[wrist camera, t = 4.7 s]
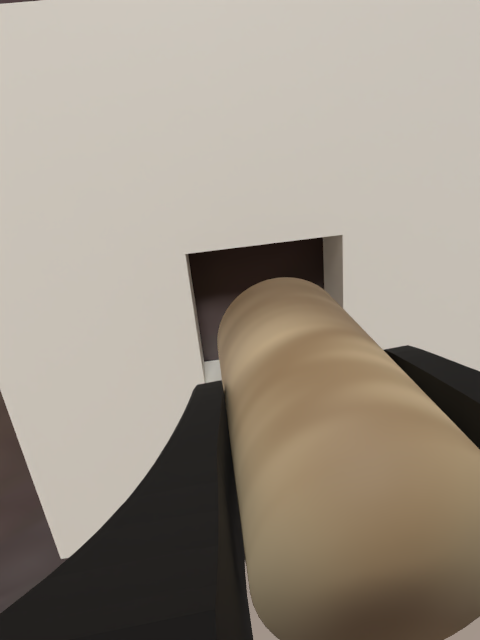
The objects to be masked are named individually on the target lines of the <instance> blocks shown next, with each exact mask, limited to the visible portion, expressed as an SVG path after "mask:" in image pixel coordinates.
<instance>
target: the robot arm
mask: <svg viewBox="0 0 480 640" xmlns="http://www.w3.org/2000/svg"><path fill="white" fill-rule="evenodd" d="M384 351H385V352H386V353H387V354H388V355H389V356H390V357H391V359H392V360H393V361H394V362H395V363H396V364H397V365H398V366H399V367H400V368H401V369H402V370H403V371H404V372H405V373H406V374H407V375H408V376H409V377H410V378H411V379H412V380H413V381H414V382H415V383H416V384H417V385H418V386H419V387H420V388H421V390H422V391H423V392H424V393H425V394H426V395H427V396H428V397H429V398H430V399H431V400H432V401H433V402H434V403H435V404H436V405H437V406H438V407H439V408H440V409H441V410H442V411H443V412H444V413H445V414H446V415H447V416H448V417H449V418H450V419H451V420H452V422H453V423H454V424H455V425H456V426H457V427H458V428H459V429H460V430H461V431H462V432H463V433H464V434H465V435H466V436H467V437H468V438H469V439H470V440H471V441H472V442H473V443H474V444H475V445H476V446H477V447H478V448H479V449H480V371H478V370H475V369H472V368H470V367H467V366H464V365H462V364H459V363H457V362H454V361H451V360H449V359H446V358H444V357H441V356H438V355H436V354H433V353H430V352H428V351H425V350H422V349H419V348H416V347H413V346H409V345H406V346H400V347H395V348H390V349H384ZM0 640H253V635H252V628H251V621H250V614H249V606H248V599H247V590H246V579H245V563H244V543H243V535H242V528H241V520H240V513H239V505H238V498H237V490H236V482H235V475H234V467H233V460H232V452H231V445H230V437H229V428H228V418H227V410H226V403H225V395H224V390H223V385H222V380H219V381H214V382H209V383H203V384H198V385H196V387H195V388H194V389H193V392H192V395H191V397H190V399H189V402H188V404H187V406H186V408H185V410H184V413H183V415H182V417H181V419H180V421H179V422H178V424H177V426H176V428H175V430H174V432H173V434H172V435H171V437H170V439H169V441H168V442H167V444H166V445H165V447H164V449H163V450H162V452H161V453H160V455H159V457H158V458H157V460H156V461H155V463H154V464H153V466H152V467H151V469H150V470H149V471H148V473H147V474H146V476H145V477H144V478H143V480H142V481H141V482H140V484H139V485H138V486H137V488H136V489H135V490H134V491H133V493H132V494H131V495H130V496H129V498H128V499H127V500H126V501H125V502H124V503H123V504H122V505H121V506H120V508H119V509H118V510H117V511H116V512H115V513H114V514H113V515H112V516H111V517H110V518H109V519H108V520H107V522H106V523H105V524H104V525H103V526H102V527H101V528H100V529H99V530H98V531H97V532H96V533H95V534H94V535H93V536H92V537H91V538H90V539H89V540H88V541H87V542H86V543H85V544H83V545H82V546H81V547H80V548H79V549H78V550H77V551H76V552H75V553H74V554H73V555H72V556H70V557H69V558H68V559H67V560H66V561H65V562H64V563H63V564H61V565H60V566H59V567H58V568H57V569H56V570H55V571H53V572H52V573H51V574H50V575H49V576H47V577H46V578H45V579H44V580H43V581H41V582H40V583H39V584H37V585H36V586H35V587H34V588H32V589H31V590H30V591H29V592H27V593H26V594H25V595H24V596H22V597H21V598H20V599H18V600H17V601H16V602H15V603H13V604H12V605H11V606H10V607H8V608H7V609H6V610H4V611H3V612H2V613H1V614H0Z"/></svg>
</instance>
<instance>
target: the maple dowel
mask: <svg viewBox="0 0 480 640" xmlns="http://www.w3.org/2000/svg"><path fill="white" fill-rule="evenodd" d="M217 344H218V354H219V362H220V369H221V377H222V384H223V390H224V395H225V403H226V410H227V418H228V428H229V437H230V445H231V452H232V460H233V467H234V475H235V482H236V490H237V498H238V505H239V513H240V520H241V528H242V535H243V543H244V550H245V558H246V566H247V573H248V581H249V588H250V594H251V598H252V602H253V605H254V607H255V609H256V612H257V614H258V616H259V618H260V619H261V620H262V622H263V623H264V625H265V626H266V627H267V628H268V629H269V630H270V631H271V632H272V633H273V634H274V635H275V636H276V637H277V638H278V639H280V640H444V639H446V638H448V637H450V636H452V635H453V634H455V633H456V632H458V631H460V630H461V629H463V628H465V627H466V626H467V625H469V624H470V623H471V622H473V621H474V620H475V619H477V618H478V617H479V616H480V449H479V448H478V447H477V446H476V445H475V444H474V443H473V442H472V441H471V440H470V439H469V438H468V437H467V436H466V435H465V434H464V433H463V432H462V431H461V430H460V429H459V428H458V427H457V426H456V425H455V424H454V423H453V422H452V420H451V419H450V418H449V417H448V416H447V415H446V414H445V413H444V412H443V411H442V410H441V409H440V408H439V407H438V406H437V405H436V404H435V403H434V402H433V401H432V400H431V399H430V398H429V397H428V396H427V395H426V394H425V393H424V392H423V391H422V390H421V388H420V387H419V386H418V385H417V384H416V383H415V382H414V381H413V380H412V379H411V378H410V377H409V376H408V375H407V374H406V373H405V372H404V371H403V370H402V369H401V368H400V367H399V366H398V365H397V364H396V363H395V362H394V361H393V360H392V359H391V357H390V356H389V355H388V354H387V353H386V352H385V351H384V350H383V349H382V348H381V347H380V346H379V345H378V344H377V343H376V342H375V341H374V340H373V339H372V338H371V337H370V336H369V335H368V334H367V333H366V332H365V331H364V330H363V329H362V328H361V326H360V325H359V324H358V323H357V322H356V321H355V320H354V319H353V318H352V317H351V316H350V315H349V314H348V313H347V312H346V311H345V310H344V309H343V308H342V307H341V306H340V305H339V304H338V303H337V302H336V301H335V300H334V299H333V298H332V297H331V295H329V294H328V293H327V292H326V291H325V290H324V289H322V288H321V287H319V286H318V285H316V284H314V283H312V282H309V281H306V280H303V279H298V278H291V277H282V278H274V279H269V280H265V281H263V282H260V283H257V284H255V285H253V286H251V287H250V288H248V289H247V290H245V291H244V292H242V293H241V294H240V295H239V296H238V297H237V298H236V299H235V300H234V301H233V302H232V303H231V304H230V306H229V307H228V309H227V310H226V312H225V314H224V316H223V318H222V320H221V323H220V326H219V331H218V339H217Z"/></svg>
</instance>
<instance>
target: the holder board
mask: <svg viewBox="0 0 480 640" xmlns="http://www.w3.org/2000/svg"><path fill="white" fill-rule="evenodd" d="M320 237H323V265H324V290H325V291H326V292H327V293H328V294H329V295H331V297H332V298H333V299H334V300H335V301H336V302H337V303H338V304H339V305H340V306H341V307H342V308H343V309H344V310H345V311H346V312H347V313H348V314H349V315H350V316H351V317H352V318H353V319H354V320H355V321H356V322H357V323H358V324H359V325H360V326H361V328H362V329H363V330H364V331H365V332H366V333H367V334H368V335H369V336H370V337H371V338H372V339H373V340H374V341H375V342H376V343H377V344H378V345H379V346H380V347H381V348H382V349H383V350H384V349H390V348H395V347H400V346H406V345H409V346H413V347H416V348H419V349H422V350H425V351H428V352H430V353H433V354H436V355H438V356H441V357H444V358H446V359H449V360H451V361H454V362H457V363H459V364H462V365H464V366H467V367H470V368H472V369H475V370H478V371H480V0H42V1H30V2H19V3H7V4H0V390H1V393H2V396H3V399H4V401H5V404H6V407H7V410H8V413H9V415H10V418H11V421H12V424H13V427H14V429H15V432H16V435H17V438H18V440H19V443H20V446H21V449H22V452H23V454H24V457H25V460H26V463H27V466H28V468H29V471H30V474H31V477H32V480H33V482H34V485H35V488H36V491H37V493H38V496H39V499H40V502H41V505H42V507H43V510H44V513H45V516H46V519H47V521H48V524H49V527H50V530H51V532H52V535H53V538H54V541H55V544H56V546H57V549H58V552H59V555H60V558H61V559H63V558H69V557H70V556H72V555H73V554H74V553H75V552H76V551H77V550H78V549H79V548H80V547H81V546H82V545H83V544H85V543H86V542H87V541H88V540H89V539H90V538H91V537H92V536H93V535H94V534H95V533H96V532H97V531H98V530H99V529H100V528H101V527H102V526H103V525H104V524H105V523H106V522H107V520H108V519H109V518H110V517H111V516H112V515H113V514H114V513H115V512H116V511H117V510H118V509H119V508H120V506H121V505H122V504H123V503H124V502H125V501H126V500H127V499H128V498H129V496H130V495H131V494H132V493H133V491H134V490H135V489H136V488H137V486H138V485H139V484H140V482H141V481H142V480H143V478H144V477H145V476H146V474H147V473H148V471H149V470H150V469H151V467H152V466H153V464H154V463H155V461H156V460H157V458H158V457H159V455H160V453H161V452H162V450H163V449H164V447H165V445H166V444H167V442H168V441H169V439H170V437H171V435H172V434H173V432H174V430H175V428H176V426H177V424H178V422H179V421H180V419H181V417H182V415H183V413H184V410H185V408H186V406H187V404H188V402H189V399H190V397H191V395H192V392H193V389H194V388H195V387H196V385H198V384H203V383H209V382H214V381H219V380H222V377H221V369H220V362H219V360H214V361H206V362H204V358H203V351H202V344H201V338H200V331H199V324H198V317H197V310H196V304H195V297H194V290H193V283H192V277H191V270H190V263H189V256H188V254H190V253H198V252H206V251H214V250H222V249H231V248H239V247H247V246H255V245H263V244H271V243H279V242H288V241H296V240H304V239H312V238H320ZM222 385H223V384H222Z"/></svg>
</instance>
